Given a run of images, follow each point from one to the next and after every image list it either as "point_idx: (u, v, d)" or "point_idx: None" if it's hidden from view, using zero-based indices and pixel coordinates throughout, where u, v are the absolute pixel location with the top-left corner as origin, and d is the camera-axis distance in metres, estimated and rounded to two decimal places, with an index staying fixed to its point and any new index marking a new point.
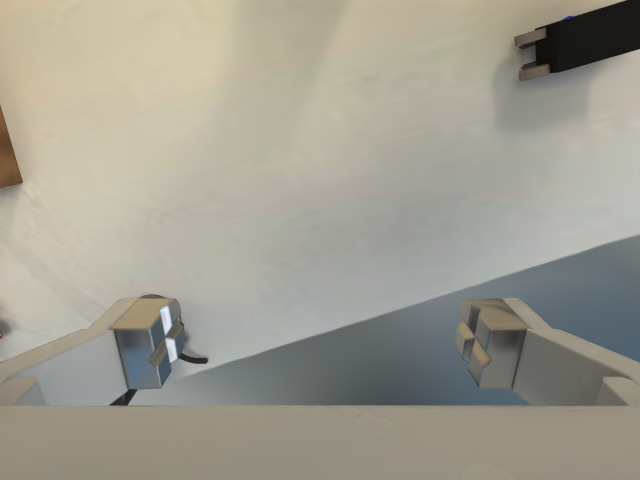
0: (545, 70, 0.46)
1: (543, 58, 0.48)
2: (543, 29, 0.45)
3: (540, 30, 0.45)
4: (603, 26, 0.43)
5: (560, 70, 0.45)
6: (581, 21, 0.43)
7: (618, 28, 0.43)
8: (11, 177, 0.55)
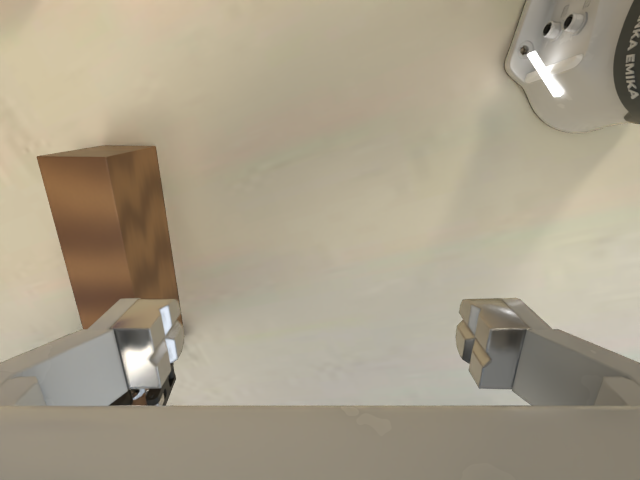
0: None
1: None
2: None
3: None
4: None
5: None
6: None
7: None
8: None
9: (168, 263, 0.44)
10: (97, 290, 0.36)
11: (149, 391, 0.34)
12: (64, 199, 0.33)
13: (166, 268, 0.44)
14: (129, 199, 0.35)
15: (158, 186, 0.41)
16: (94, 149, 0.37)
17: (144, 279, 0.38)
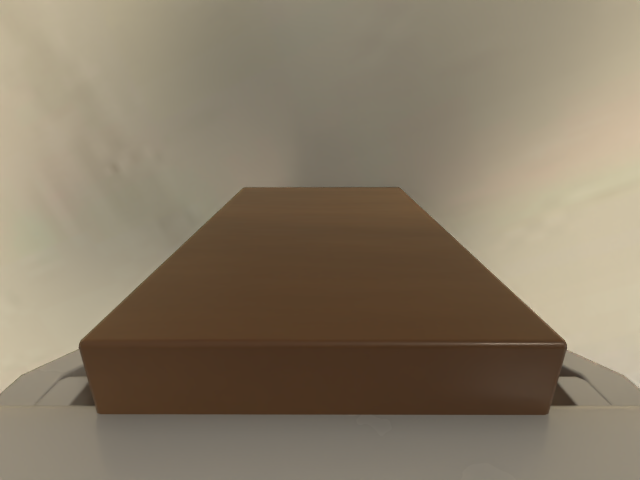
0: None
1: None
2: None
3: None
4: None
5: None
6: None
7: None
8: None
9: None
10: None
11: None
12: None
13: None
14: None
15: None
16: (269, 215, 0.10)
17: None
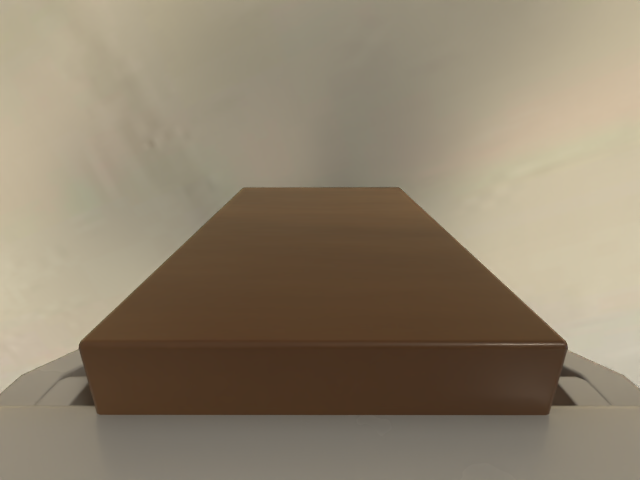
0: None
1: None
2: None
3: None
4: None
5: None
6: None
7: None
8: None
9: None
10: None
11: None
12: None
13: None
14: None
15: None
16: (269, 215, 0.10)
17: None
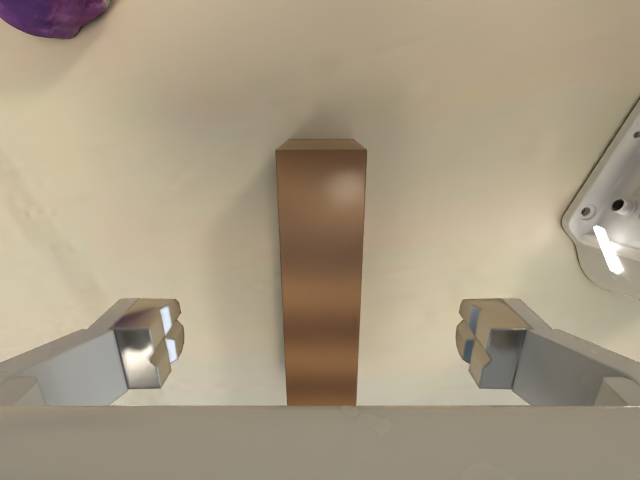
0: None
1: None
2: None
3: None
4: None
5: None
6: None
7: None
8: None
9: None
10: (314, 320, 0.29)
11: None
12: (299, 205, 0.25)
13: None
14: None
15: None
16: (303, 142, 0.29)
17: None
